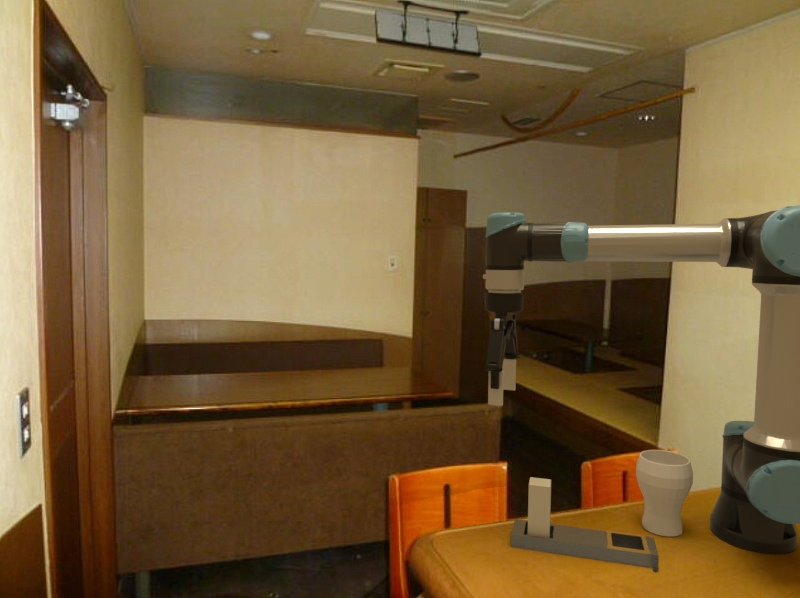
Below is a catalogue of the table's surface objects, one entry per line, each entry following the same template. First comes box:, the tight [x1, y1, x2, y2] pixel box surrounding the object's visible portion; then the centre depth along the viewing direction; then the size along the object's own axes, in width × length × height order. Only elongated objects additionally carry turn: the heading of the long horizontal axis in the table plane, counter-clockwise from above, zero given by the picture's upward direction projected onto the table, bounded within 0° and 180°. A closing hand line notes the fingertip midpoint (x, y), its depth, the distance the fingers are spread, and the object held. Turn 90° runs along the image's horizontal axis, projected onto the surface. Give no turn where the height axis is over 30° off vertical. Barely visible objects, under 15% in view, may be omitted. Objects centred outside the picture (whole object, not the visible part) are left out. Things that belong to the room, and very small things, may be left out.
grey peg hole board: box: [510, 518, 660, 573], centre depth 110 cm, size 26×7×3 cm, turn 73°
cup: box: [635, 449, 694, 537], centre depth 120 cm, size 11×11×15 cm
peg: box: [527, 476, 552, 538], centre depth 112 cm, size 4×4×12 cm
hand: (502, 397), depth 116 cm, fingers open, 13 cm apart
